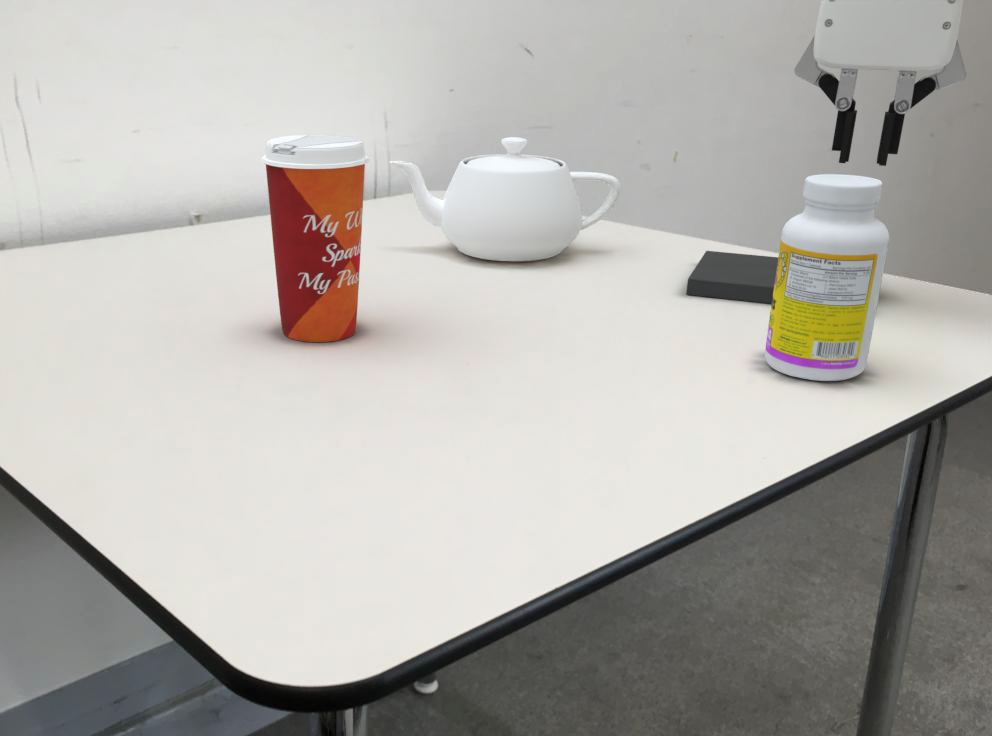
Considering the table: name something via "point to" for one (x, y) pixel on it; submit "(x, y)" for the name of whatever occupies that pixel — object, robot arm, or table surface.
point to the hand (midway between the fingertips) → (862, 160)
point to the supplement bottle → (828, 280)
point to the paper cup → (316, 232)
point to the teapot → (510, 204)
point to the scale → (734, 277)
